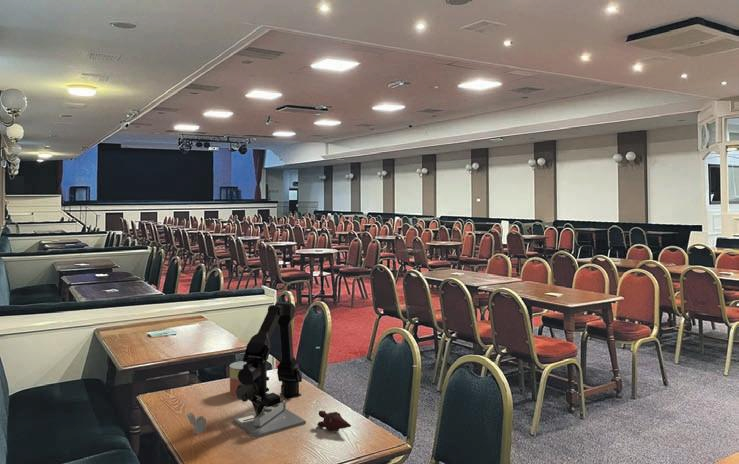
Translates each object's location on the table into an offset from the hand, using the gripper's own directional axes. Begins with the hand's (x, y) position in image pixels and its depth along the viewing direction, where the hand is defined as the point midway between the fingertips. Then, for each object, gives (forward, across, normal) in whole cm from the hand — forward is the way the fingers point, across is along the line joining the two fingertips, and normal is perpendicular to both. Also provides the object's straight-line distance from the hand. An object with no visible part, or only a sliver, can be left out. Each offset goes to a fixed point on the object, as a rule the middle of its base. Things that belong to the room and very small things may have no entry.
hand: (258, 416), depth 201 cm
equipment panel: (+2, +2, +3) cm, 4 cm away
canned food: (+4, -29, +14) cm, 32 cm away
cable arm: (+1, +2, +4) cm, 5 cm away
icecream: (+2, +25, +14) cm, 29 cm away
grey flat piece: (+2, -8, -20) cm, 22 cm away
